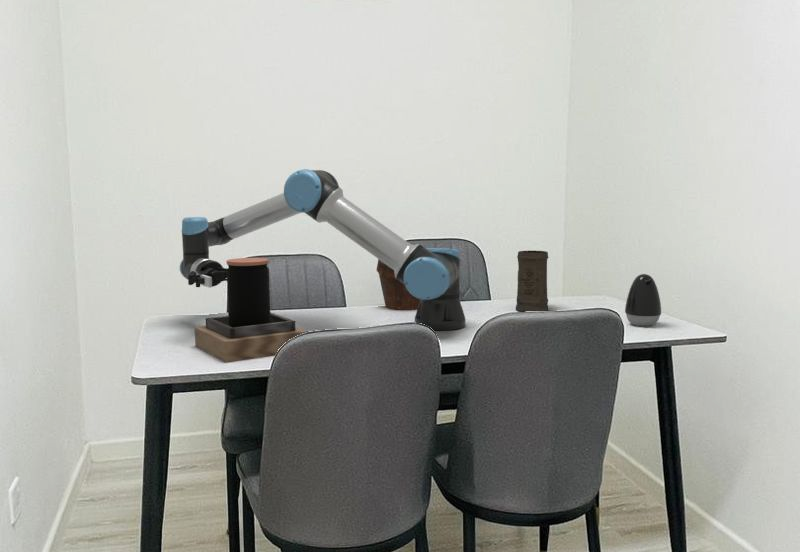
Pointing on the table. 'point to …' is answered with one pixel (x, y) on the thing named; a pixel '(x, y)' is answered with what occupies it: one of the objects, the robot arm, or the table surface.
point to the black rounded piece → (643, 302)
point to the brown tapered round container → (395, 290)
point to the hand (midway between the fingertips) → (235, 280)
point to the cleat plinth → (244, 338)
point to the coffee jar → (248, 292)
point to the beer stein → (532, 281)
